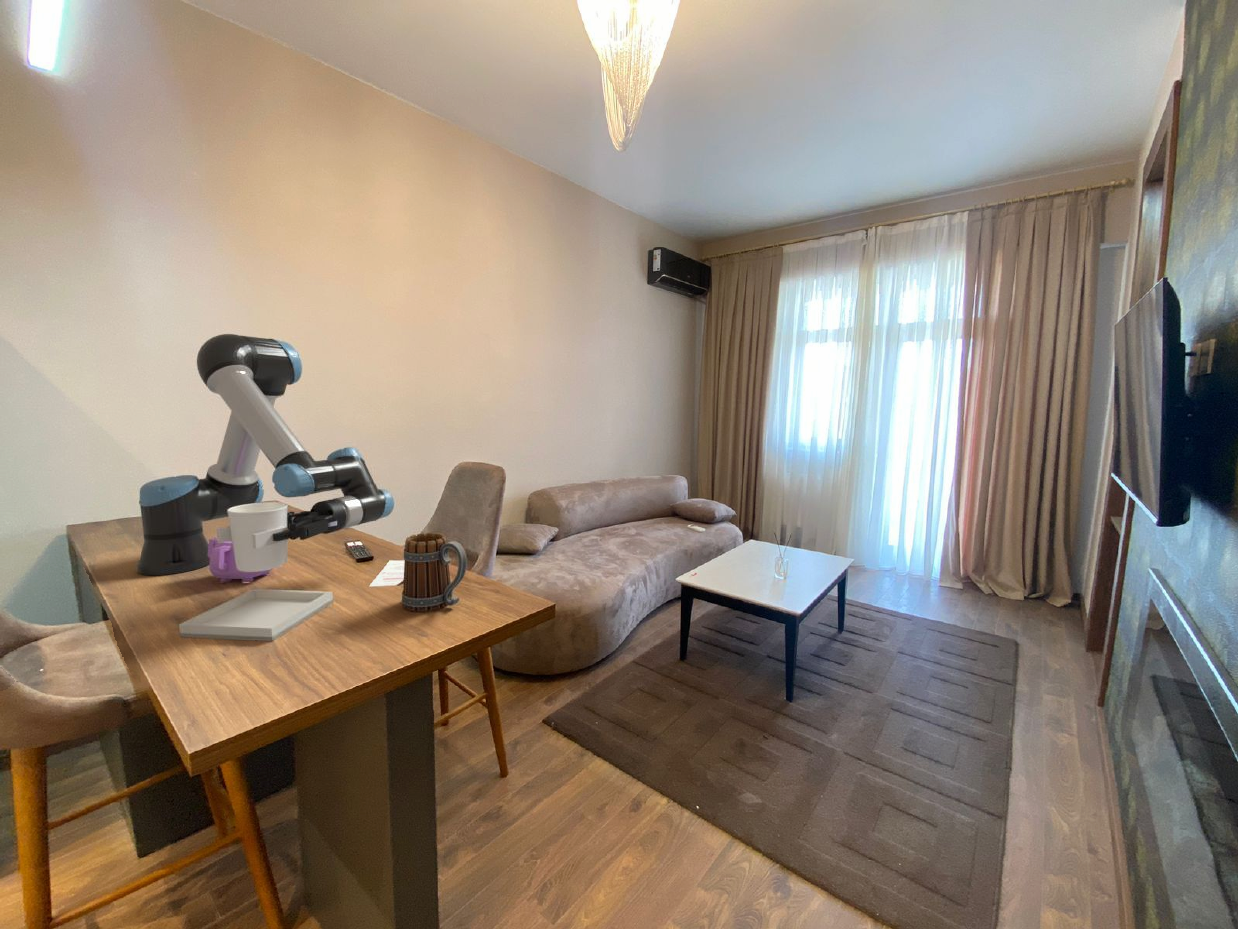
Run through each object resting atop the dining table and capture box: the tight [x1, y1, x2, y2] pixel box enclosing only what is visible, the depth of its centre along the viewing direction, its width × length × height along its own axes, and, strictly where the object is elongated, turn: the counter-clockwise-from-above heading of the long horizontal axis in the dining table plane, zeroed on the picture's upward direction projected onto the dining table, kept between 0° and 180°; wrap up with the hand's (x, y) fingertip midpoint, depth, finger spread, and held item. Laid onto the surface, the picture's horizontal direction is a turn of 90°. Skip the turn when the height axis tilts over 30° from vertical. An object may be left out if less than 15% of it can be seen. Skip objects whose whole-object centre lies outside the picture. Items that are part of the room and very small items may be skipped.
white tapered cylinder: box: [227, 501, 289, 572], centre depth 100 cm, size 10×10×12 cm
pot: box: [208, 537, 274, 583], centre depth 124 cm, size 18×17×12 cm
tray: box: [178, 588, 334, 642], centre depth 102 cm, size 18×18×2 cm
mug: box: [401, 532, 468, 613], centre depth 109 cm, size 16×11×15 cm
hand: (236, 538), depth 96 cm, fingers closed on white tapered cylinder, 9 cm apart
